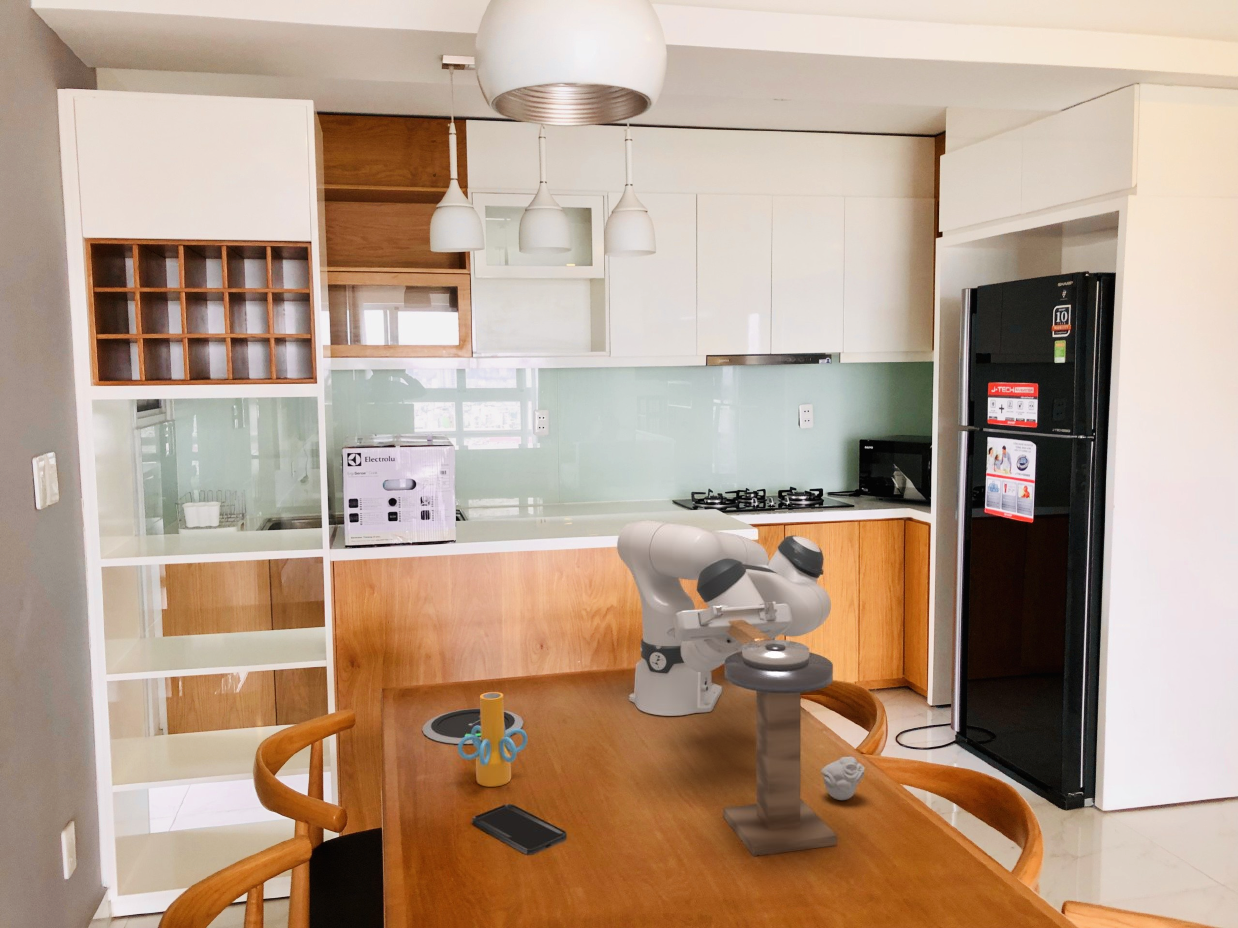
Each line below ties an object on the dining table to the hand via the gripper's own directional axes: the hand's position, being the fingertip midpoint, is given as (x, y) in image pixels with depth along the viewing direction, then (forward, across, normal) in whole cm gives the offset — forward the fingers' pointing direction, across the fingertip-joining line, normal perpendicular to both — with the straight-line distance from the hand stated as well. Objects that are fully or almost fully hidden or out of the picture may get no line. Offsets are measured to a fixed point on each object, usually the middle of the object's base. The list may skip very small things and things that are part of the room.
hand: (745, 608), depth 155 cm
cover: (+2, 0, +7) cm, 8 cm away
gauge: (-54, -41, +6) cm, 68 cm away
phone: (-13, -38, +29) cm, 50 cm away
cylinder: (-30, -40, +19) cm, 53 cm away
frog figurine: (-11, +14, +30) cm, 35 cm away
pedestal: (-4, 0, +34) cm, 34 cm away
